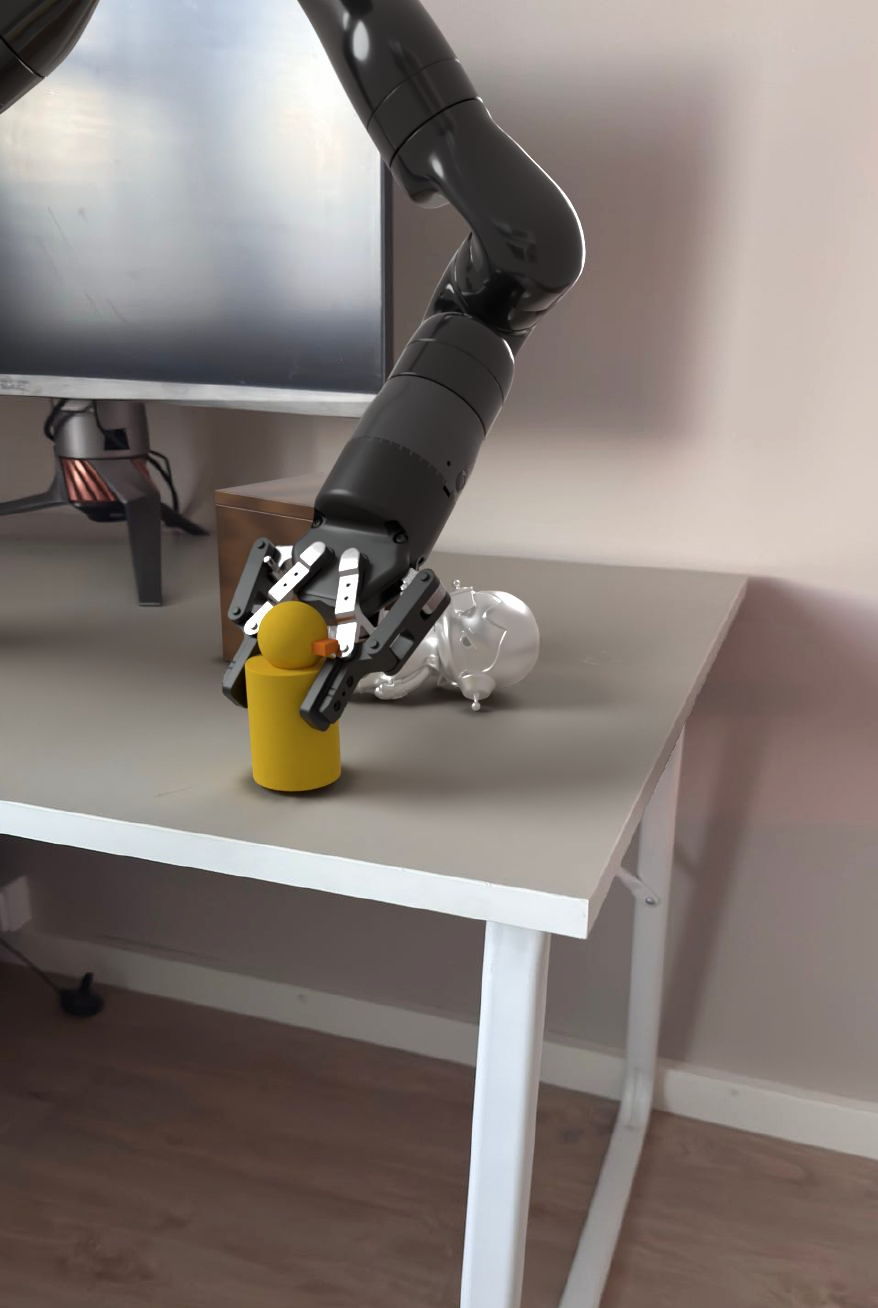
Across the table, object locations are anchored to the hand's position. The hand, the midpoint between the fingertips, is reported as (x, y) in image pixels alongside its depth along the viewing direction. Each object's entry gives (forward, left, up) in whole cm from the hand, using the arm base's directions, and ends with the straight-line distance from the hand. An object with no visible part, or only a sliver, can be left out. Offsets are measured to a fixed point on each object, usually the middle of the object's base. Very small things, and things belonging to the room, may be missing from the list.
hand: (272, 711), depth 67 cm
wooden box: (-15, +22, -5) cm, 27 cm away
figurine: (-3, +20, -5) cm, 21 cm away
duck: (0, +2, -4) cm, 5 cm away
